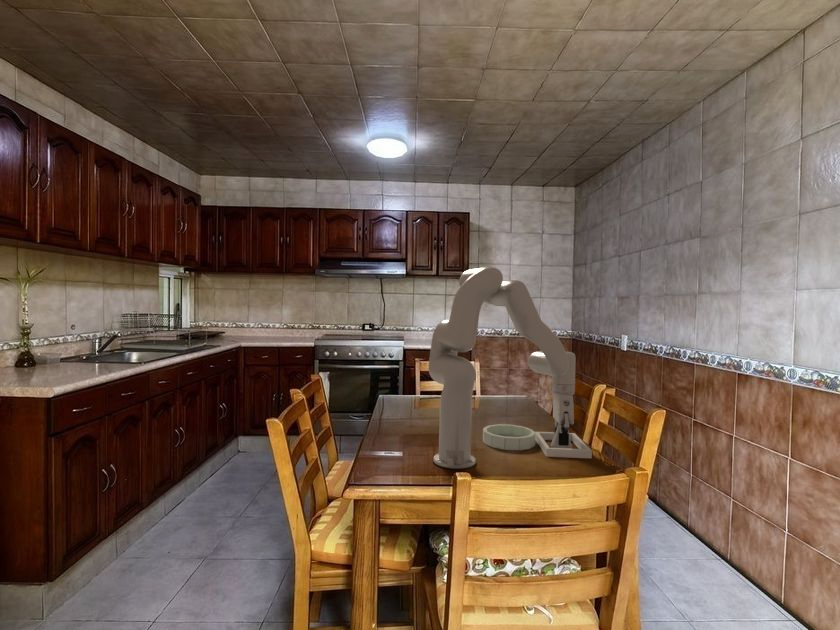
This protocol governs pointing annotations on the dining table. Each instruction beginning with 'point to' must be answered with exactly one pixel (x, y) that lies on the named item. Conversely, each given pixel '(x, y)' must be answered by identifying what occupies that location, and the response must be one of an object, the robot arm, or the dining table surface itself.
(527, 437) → the bowl
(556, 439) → the flask
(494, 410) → the dining table surface
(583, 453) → the light grey rectangular frame
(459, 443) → the robot arm
